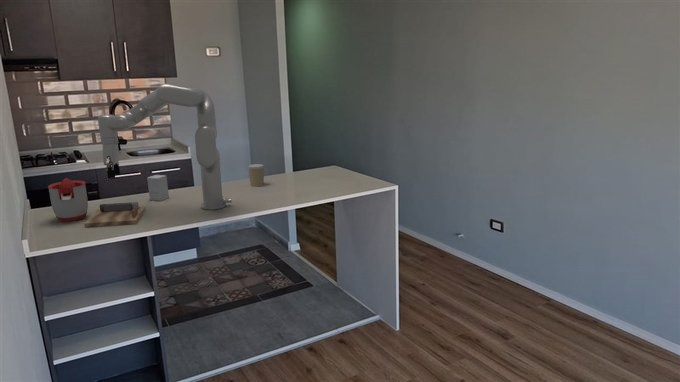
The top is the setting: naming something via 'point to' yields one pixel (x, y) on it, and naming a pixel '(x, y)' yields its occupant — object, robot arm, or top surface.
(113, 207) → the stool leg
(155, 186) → the supplement box
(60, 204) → the citrus juicer
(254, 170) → the coffee cup
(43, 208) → the top surface
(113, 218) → the flat wooden plank
